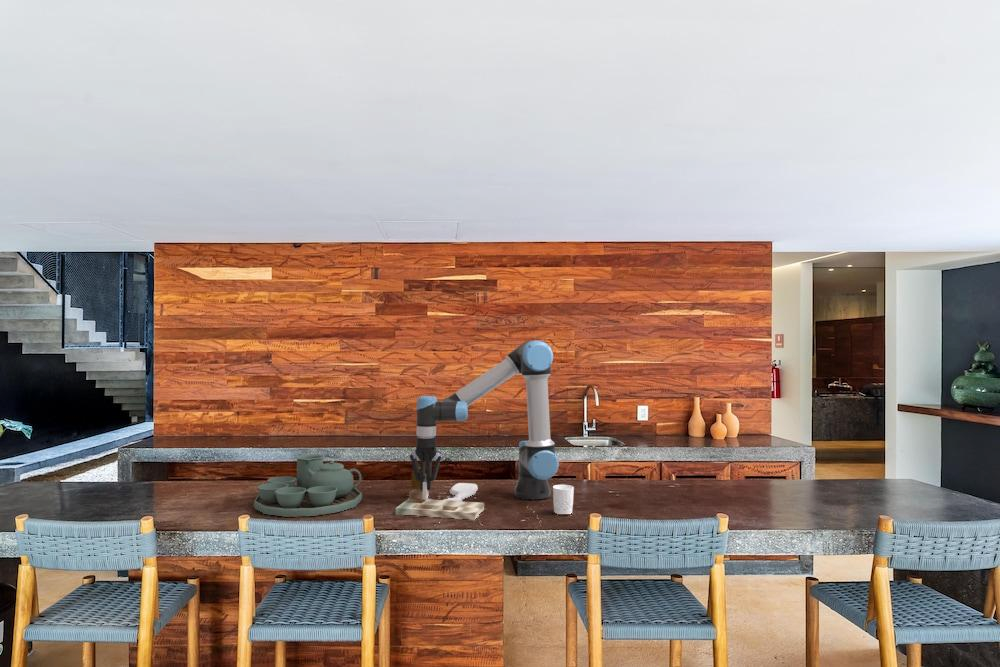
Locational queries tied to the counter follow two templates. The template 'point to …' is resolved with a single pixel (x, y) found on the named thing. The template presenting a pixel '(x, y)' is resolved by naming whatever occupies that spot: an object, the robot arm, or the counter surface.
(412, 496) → the walnut block
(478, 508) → the trap deck
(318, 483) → the tea set
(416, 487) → the condiment
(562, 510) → the white cup
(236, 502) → the counter surface
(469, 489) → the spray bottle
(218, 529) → the counter surface
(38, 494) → the counter surface
